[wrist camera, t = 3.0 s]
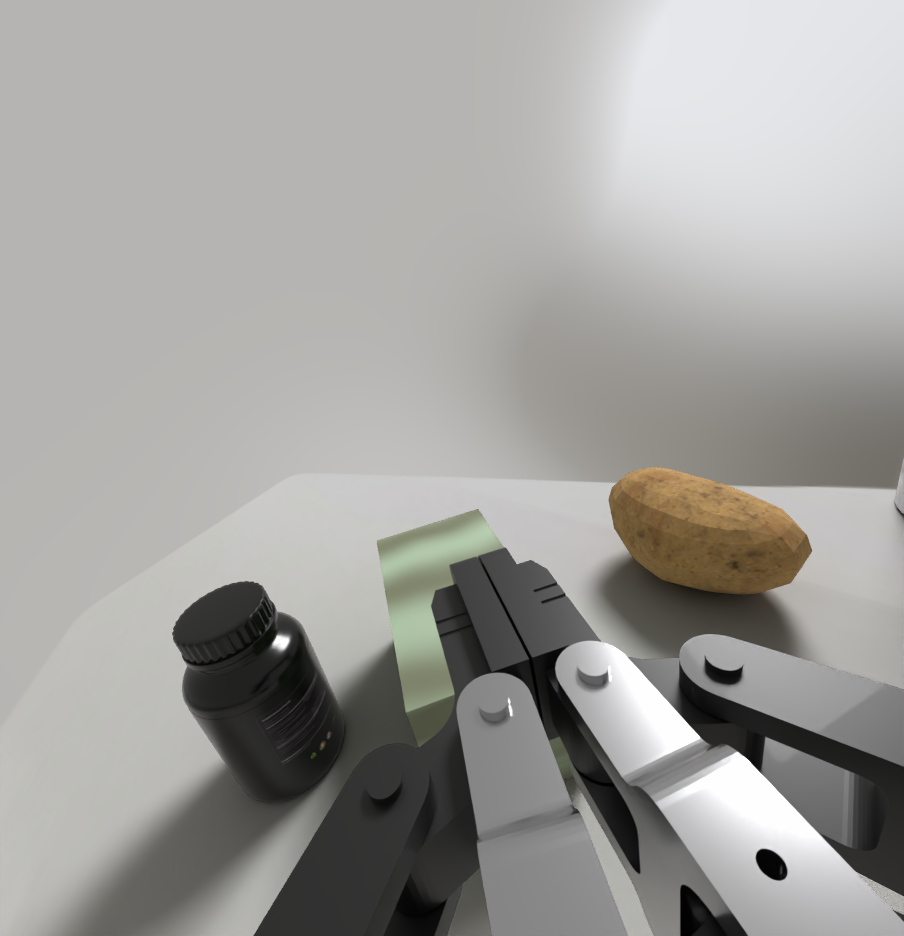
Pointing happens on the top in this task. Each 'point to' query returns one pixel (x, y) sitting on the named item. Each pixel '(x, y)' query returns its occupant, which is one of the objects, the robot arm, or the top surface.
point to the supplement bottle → (258, 691)
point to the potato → (706, 533)
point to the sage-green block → (413, 625)
